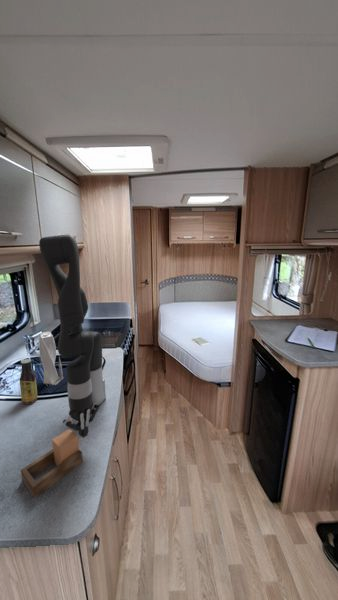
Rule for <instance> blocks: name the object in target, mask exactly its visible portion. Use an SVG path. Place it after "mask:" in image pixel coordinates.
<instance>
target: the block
mask: <svg viewBox="0 0 338 600" xmlns="http://www.w3.org/2000/svg"><path fill="white" fill-rule="evenodd" d="M51 442H52V449H53V452H54V460H55V462H54V463H55V464H56V467H57V466H58V465H60V464H61V463H62V462H64V461H65V460H67V459H68V458H69V457H71V456H72V455H74V454H75V453H76V452H78V451H79V450H80V447H79V436H78V435H77V434H76V433H75V432H74V430H73V429H72V430H71V428H68V429H67V430H65V431H63V432H62V433H60V434H59V435H57V436H56V437H54V438H52V439H51Z"/></svg>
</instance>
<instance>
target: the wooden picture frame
mask: <svg viewBox="0 0 338 600" xmlns="http://www.w3.org/2000/svg"><path fill="white" fill-rule="evenodd" d="M83 460H84V459H83V451H82V450H81V449H79V451H78V452H76V453H75V454H74V455H72V456H71V457H69V458H68V459H67V460H65V461H64V462H62V463H61V464H60V465H58V466H57V465H56V467H54V468H53V469H51V470H50V471H49V472H47V473H46V474H44V475H42V476H41V477H40V478H39V479H37V480H35V478H34V477H35V476H36V475H38V474H40V473H41V472H42V471H44V470H45V469H46V468H48V467H49V466H50V465H52V464H54V463H55V460H54V452H53V448H52V449H51V450H49V451H48V452H46V453H45V454H43V455H42V456H40V457H39V458H37V459H36V460H34V461H33V462H30V463H29V464H28V465H26V466H25V467H23V468H22V469H20V475H21V481H22V482H23V484H24V485H25V486H26V488H27V490H28V491H29V492H30V494H31V495H32V496H33V497H34V499H37V498H38V497H39V496H40V495H42V494H43V493H44V492H46V490H49V488H51V487H52V486H53V485H55V484H56V483H58V482H59V481H60V480H62V479H63V478H64V477H65V476H67V474H69V473H70V472H72V471H73V470H75V468H77V467H78V466H80V465H81V464H82V463H84V461H83Z"/></svg>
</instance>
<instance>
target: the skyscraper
mask: <svg viewBox="0 0 338 600" xmlns="http://www.w3.org/2000/svg"><path fill="white" fill-rule="evenodd" d="M38 335H39V336H38V344H39V345H38V347H39V349H38V351H39V352H38V353H39V357H40V360H41V364H42V368H43V385H52V386H56V385H58V384H59V383H60V382H61V381H62V380H63V379H64V378H65V376H63V375H64V374H63V373H64V372H63V364H62V363H61V358H60V357H61V356H58V369H59V370H58V371H59V372H58V371H57V369H56V366H55V364H56V358H57V348H56V347H57V346H56V342H55V339H54V335H53V334H52V332H51V331H43V332H40V333H39V334H38ZM58 374H59V375H58Z"/></svg>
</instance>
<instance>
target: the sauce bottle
mask: <svg viewBox="0 0 338 600" xmlns="http://www.w3.org/2000/svg"><path fill="white" fill-rule="evenodd" d="M32 362H33V361H32V359H30V358H26V359H22V360H21V361H20V366H21V372H20V377H19V387H20V388H19V389H20V396H21V398H20V399H21V402H22V404H24V405H30V404H34V403H35V402H36V401H37V400H38V389H37V387H38V386H37V378H36V372H35V371H34V370H33V367H32Z"/></svg>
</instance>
